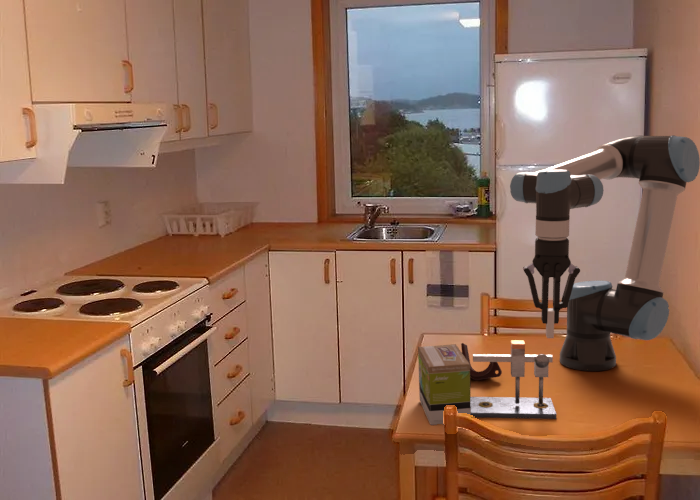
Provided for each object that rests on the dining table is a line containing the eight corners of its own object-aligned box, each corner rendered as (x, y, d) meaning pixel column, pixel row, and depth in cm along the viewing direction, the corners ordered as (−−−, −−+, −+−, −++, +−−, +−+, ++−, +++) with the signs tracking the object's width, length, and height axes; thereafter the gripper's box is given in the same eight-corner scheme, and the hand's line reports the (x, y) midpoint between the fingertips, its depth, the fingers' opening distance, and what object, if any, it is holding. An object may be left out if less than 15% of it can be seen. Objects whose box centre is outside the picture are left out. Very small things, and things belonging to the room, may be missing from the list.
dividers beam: (550, 401, 186) (551, 351, 184) (552, 405, 183) (553, 355, 181) (472, 400, 188) (472, 350, 186) (473, 404, 186) (473, 354, 183)
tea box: (418, 401, 193) (417, 345, 191) (457, 399, 194) (457, 342, 191) (429, 426, 179) (428, 365, 176) (472, 423, 179) (471, 362, 177)
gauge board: (550, 402, 190) (550, 397, 190) (556, 419, 180) (556, 413, 180) (468, 401, 192) (468, 396, 192) (469, 417, 183) (469, 412, 182)
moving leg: (523, 400, 187) (523, 340, 184) (524, 405, 184) (524, 344, 181) (510, 400, 187) (510, 340, 184) (511, 405, 185) (511, 343, 182)
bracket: (501, 375, 202) (494, 337, 204) (437, 385, 206) (431, 348, 208) (503, 376, 207) (496, 339, 210) (441, 386, 212) (435, 349, 214)
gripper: (578, 234, 180) (575, 332, 184) (521, 234, 182) (519, 331, 186) (584, 240, 173) (581, 341, 177) (524, 240, 174) (523, 341, 179)
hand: (549, 336), depth 181 cm, fingers closed
